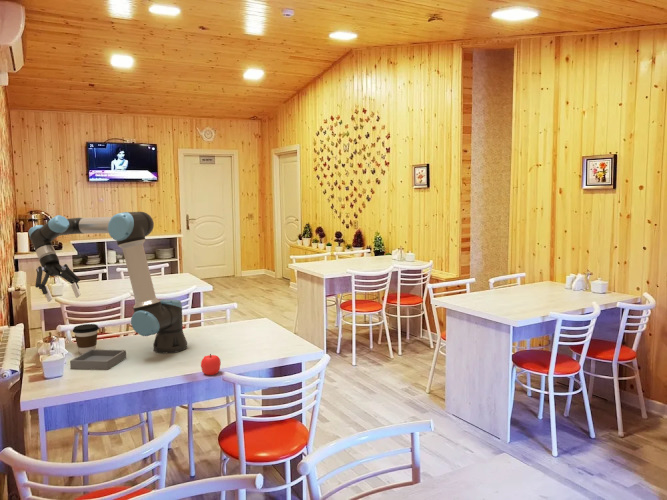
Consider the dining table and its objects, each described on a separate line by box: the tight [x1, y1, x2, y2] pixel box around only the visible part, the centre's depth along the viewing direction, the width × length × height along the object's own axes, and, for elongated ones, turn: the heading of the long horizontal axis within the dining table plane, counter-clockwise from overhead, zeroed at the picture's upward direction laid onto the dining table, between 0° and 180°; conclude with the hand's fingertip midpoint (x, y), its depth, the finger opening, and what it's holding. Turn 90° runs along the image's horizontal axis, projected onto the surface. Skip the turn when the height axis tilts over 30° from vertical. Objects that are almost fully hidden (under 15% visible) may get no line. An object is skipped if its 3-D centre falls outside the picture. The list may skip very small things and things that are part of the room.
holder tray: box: [69, 349, 127, 371], centre depth 231 cm, size 16×16×4 cm
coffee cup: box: [72, 323, 100, 355], centre depth 247 cm, size 11×11×12 cm
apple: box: [200, 353, 221, 376], centre depth 217 cm, size 8×8×8 cm
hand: (64, 298), depth 243 cm, fingers open, 13 cm apart
